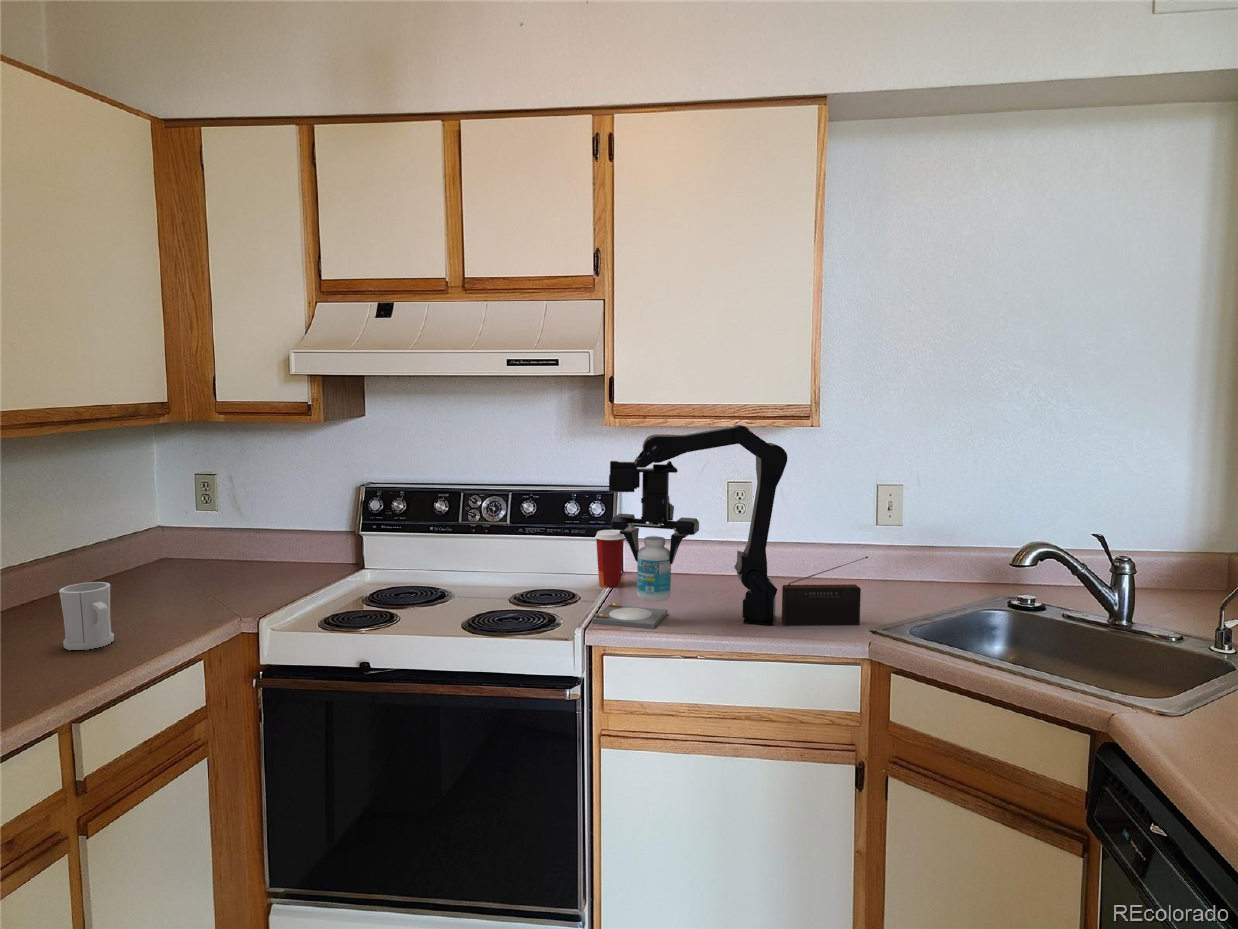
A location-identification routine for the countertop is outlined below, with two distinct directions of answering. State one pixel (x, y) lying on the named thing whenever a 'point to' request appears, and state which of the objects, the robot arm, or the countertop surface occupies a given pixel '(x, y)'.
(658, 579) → the pill bottle
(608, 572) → the paper cup
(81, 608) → the cup
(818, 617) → the radio
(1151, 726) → the countertop surface
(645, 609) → the plate
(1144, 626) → the countertop surface
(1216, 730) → the countertop surface
